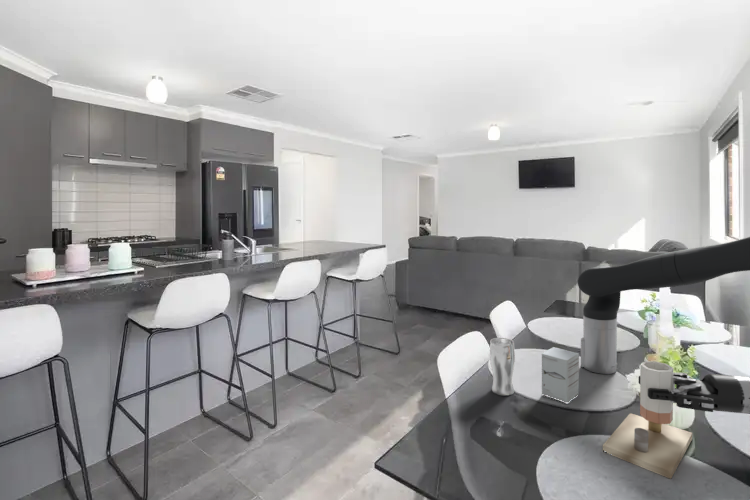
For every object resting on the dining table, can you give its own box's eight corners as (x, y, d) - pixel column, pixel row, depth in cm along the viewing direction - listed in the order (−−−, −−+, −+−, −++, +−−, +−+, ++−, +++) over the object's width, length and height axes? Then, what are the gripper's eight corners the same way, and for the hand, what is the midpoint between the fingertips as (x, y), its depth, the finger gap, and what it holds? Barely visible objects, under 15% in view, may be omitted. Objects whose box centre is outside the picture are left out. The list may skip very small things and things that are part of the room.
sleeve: (637, 417, 87) (637, 366, 86) (645, 408, 91) (645, 359, 90) (667, 426, 83) (668, 373, 82) (674, 416, 87) (675, 365, 85)
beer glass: (517, 397, 108) (516, 345, 107) (491, 396, 110) (490, 345, 108) (513, 385, 115) (512, 337, 113) (489, 385, 116) (488, 337, 115)
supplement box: (540, 396, 108) (540, 353, 107) (553, 387, 113) (553, 345, 111) (567, 405, 102) (567, 360, 101) (579, 396, 107) (579, 352, 106)
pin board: (602, 451, 83) (602, 427, 83) (630, 418, 95) (630, 397, 94) (671, 479, 74) (671, 452, 73) (692, 439, 86) (692, 415, 85)
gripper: (719, 363, 88) (633, 358, 93) (757, 392, 74) (654, 384, 80) (718, 395, 89) (633, 388, 94) (756, 429, 75) (654, 418, 81)
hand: (643, 386), depth 87 cm, fingers closed on sleeve, 6 cm apart
